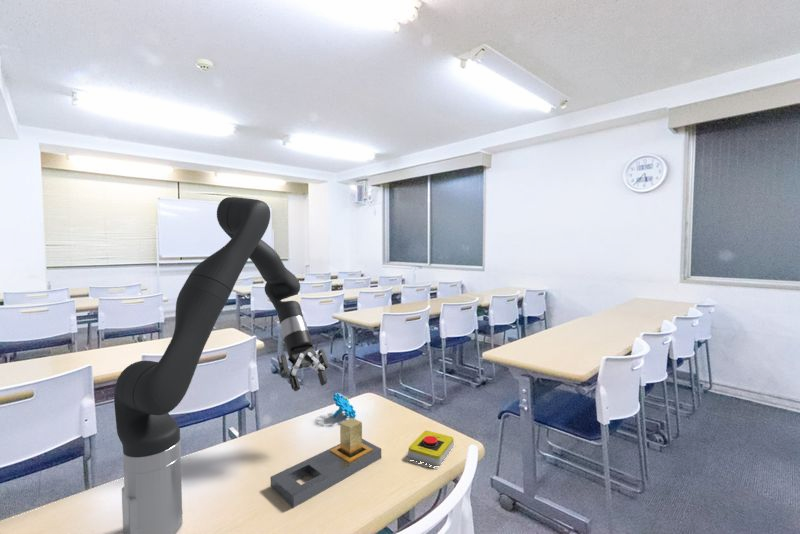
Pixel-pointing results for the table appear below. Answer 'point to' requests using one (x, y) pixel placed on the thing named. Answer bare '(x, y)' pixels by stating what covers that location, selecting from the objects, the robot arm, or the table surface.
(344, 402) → the gear
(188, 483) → the table surface
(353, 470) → the peg board
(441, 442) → the emergency button
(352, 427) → the brass peg
